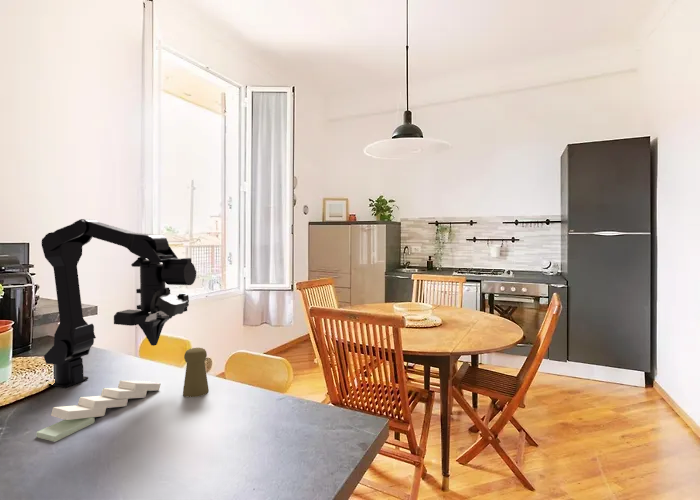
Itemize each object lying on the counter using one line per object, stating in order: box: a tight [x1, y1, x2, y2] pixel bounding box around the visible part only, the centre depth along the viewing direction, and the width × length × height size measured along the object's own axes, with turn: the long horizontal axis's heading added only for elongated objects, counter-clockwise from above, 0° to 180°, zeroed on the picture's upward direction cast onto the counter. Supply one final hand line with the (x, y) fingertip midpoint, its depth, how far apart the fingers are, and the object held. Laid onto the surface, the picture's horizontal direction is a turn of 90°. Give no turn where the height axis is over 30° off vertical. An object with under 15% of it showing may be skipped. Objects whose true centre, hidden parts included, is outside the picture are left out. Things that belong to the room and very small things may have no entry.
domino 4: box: [117, 380, 161, 391], centre depth 95 cm, size 2×5×8 cm
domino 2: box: [77, 395, 129, 409], centre depth 87 cm, size 2×5×8 cm
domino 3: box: [100, 387, 148, 399], centre depth 91 cm, size 2×5×8 cm
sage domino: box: [36, 417, 95, 443], centre depth 78 cm, size 2×5×8 cm
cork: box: [182, 347, 210, 398], centre depth 97 cm, size 6×6×11 cm
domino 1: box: [50, 404, 107, 420], centre depth 82 cm, size 2×5×8 cm
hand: (153, 345), depth 99 cm, fingers closed
